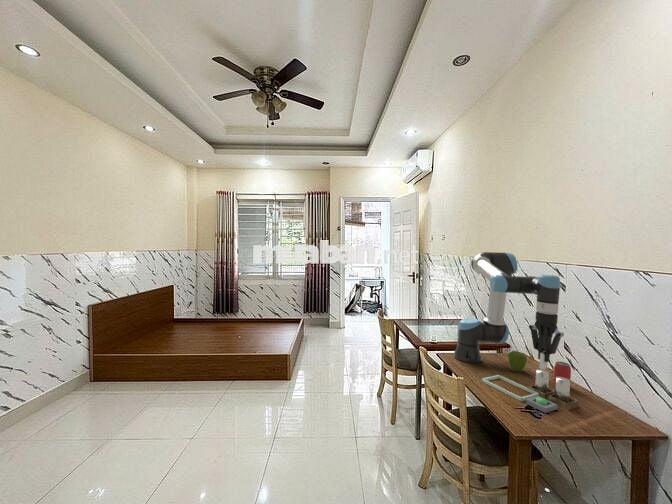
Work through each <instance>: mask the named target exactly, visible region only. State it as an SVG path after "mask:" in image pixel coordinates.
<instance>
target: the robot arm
mask: <svg viewBox="0 0 672 504" xmlns="http://www.w3.org/2000/svg"><path fill="white" fill-rule="evenodd" d="M470 266H471V269H472V270H473V271H474V272H475V273H476V274H480V275H482V277H484V278H485V279H486V280H487V281H488V282H489V287H490V288H489V295H488V296H489V297H488V303H487V305H488V306H487V312H486V316H485V317H484V318H483V322H482V321H480V319H478V318H472V317H471V318H470V317H469V318H463V319H461V320H459V321H458V327H457V329H458V332H457V333H458V334H457V345H456V346H455V347H456V348H455V350H454V353H453V357H454V358H455V359H457V360H458V361H461V362H465V363H471V364H477V363H481V362H482V355H481V351H480V343H488V344H504V343H506V342H507V341H508V339H509V335H510V331H509V330H510V329H509V326H508V324H506V323H507V322H506V321H505V319H504V315H505V308H506V307H505V306H506V302H507V301H506V300H507V293H508V294H510V293H511V294H525V295H528V294H529V295H536V308H535V310H536V312H535V322H534V324H531V325H528V328H529V329H530V335H531V338H532V340H531V341H532V345H533V349H534V350H536V351H537V352H538V353H537V354H538V355H537V359H538V360H539V367H538V369H541V370H546V369H548V363H550V359H551V358H550V356H551V355H554V354H557V353H556V352H557V349H558V347H559V344H560V341H561V338H562V337H563V336H564V332H561V331H559V330H558V329H559V328H558V320H559V319H558V317H559V315H558V313H559V302H560V301H559V300H560V291H561V284H560V283H561V282H560V281H561V279H560V278H561V277H560V276H558V275H553V274H539V275H538V276H533V275H532V276H531V275H529V276H517V275H516V276H515V274H516V273H517V271H518V267H519V265H518V260H517V258H516V256H515V255H514V254H513V253H512V252H510V253H509V252H491V251H490V252H488V251H484V252H483V251H482V252H480V253H477V254H476V255H474V256H473V258H472V259H471V261H470ZM552 338H553V339H552Z"/></svg>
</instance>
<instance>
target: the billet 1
mask: <svg viewBox="0 0 672 504" xmlns="http://www.w3.org/2000/svg"><path fill="white" fill-rule="evenodd" d="M534 380H535V382H534V385H535V389H536V390H538V391H540V392H543V393H547V392H548V388H549V382H550V372H549V371H547V370H546V369H540V368H537V369H536V370H535V379H534Z"/></svg>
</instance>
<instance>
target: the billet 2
mask: <svg viewBox="0 0 672 504" xmlns="http://www.w3.org/2000/svg"><path fill="white" fill-rule="evenodd" d="M554 386H555V389H554V391H555V398H556V399H558V400H561V401H563V402H565V403H569V397H570V394H571V393H570V392H571V380H569V379H567V378H563V377H556V384H555V385H554Z"/></svg>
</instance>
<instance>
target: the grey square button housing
mask: <svg viewBox="0 0 672 504" xmlns="http://www.w3.org/2000/svg"><path fill="white" fill-rule="evenodd" d="M536 397H540V396H535V397H532V398H528V399H526V400H525V404H527V405H528V406H531V407H532V408H534V409H536V410H539V411H541V412H542V413H545V414H546V413H550V412H553V411H555V410H558V407H559V406H558V405H557V404H555V403H553V402H550V401H548V400H547V405H545V406H543V405H541V404H539V403H537V402H536ZM541 398H542V397H541Z"/></svg>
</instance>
